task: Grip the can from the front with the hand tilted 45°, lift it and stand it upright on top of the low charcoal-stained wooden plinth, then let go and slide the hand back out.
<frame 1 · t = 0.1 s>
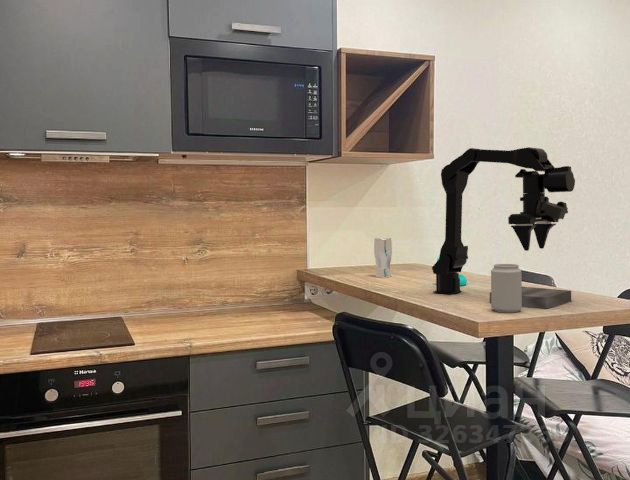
hand: (534, 249, 165), 15 cm above the worktop, tool pointing down, fingers open, 9 cm apart
plinth: (530, 302, 165), on the worktop
can: (506, 311, 153), on the worktop
white piece: (383, 277, 232), on the worktop
turquoise double disc piece: (452, 285, 205), on the worktop
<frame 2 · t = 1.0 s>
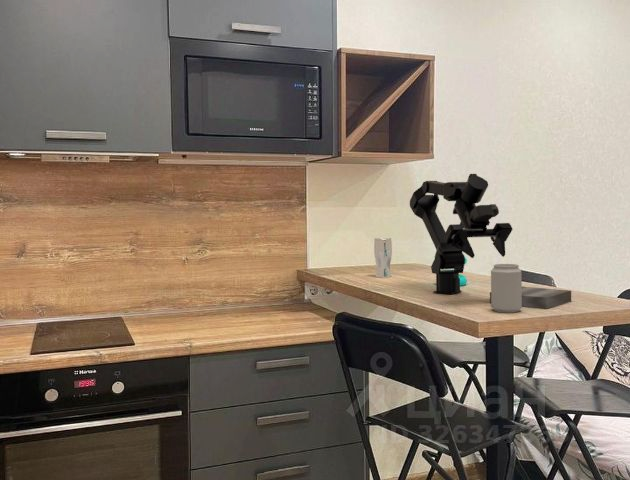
hand: (488, 256, 161), 13 cm above the worktop, tool tilted 45°, fingers open, 9 cm apart
nothing on the worktop moved.
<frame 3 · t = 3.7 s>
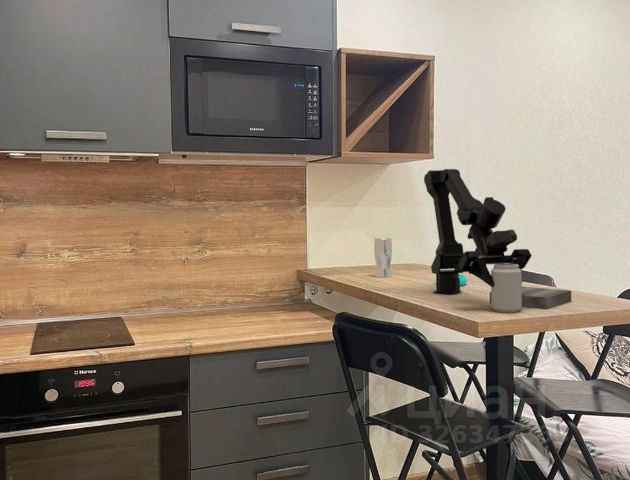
hand: (507, 285, 152), 7 cm above the worktop, tool tilted 45°, fingers closed on can, 7 cm apart
can: (506, 311, 153), on the worktop, touching gripper
everything else where it was.
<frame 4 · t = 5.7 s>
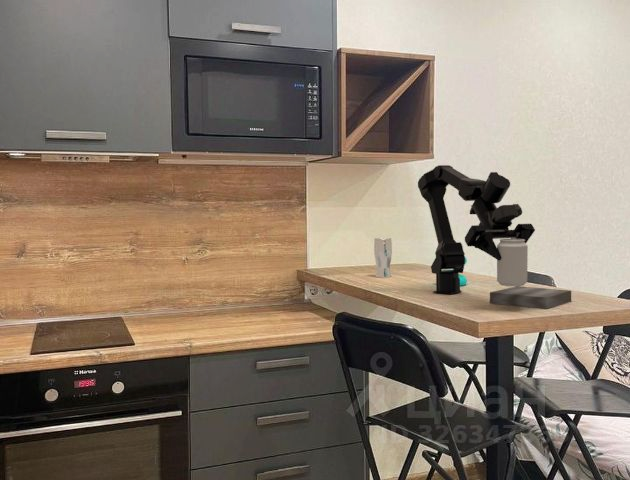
hand: (513, 258, 154), 13 cm above the worktop, tool tilted 45°, fingers closed on can, 7 cm apart
can: (512, 285, 155), point 6 cm above the worktop, touching gripper
everything else where it was.
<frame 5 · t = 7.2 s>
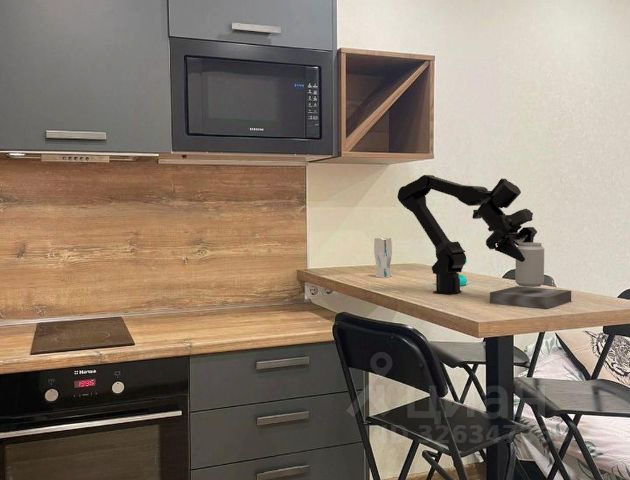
hand: (531, 259, 164), 12 cm above the worktop, tool tilted 45°, fingers closed on can, 7 cm apart
can: (529, 286, 165), point 4 cm above the worktop, touching gripper
everything else where it was.
when the fingers open (10 cm above the worktop, at t = 8.1 s): can stays where it is, resting on plinth.
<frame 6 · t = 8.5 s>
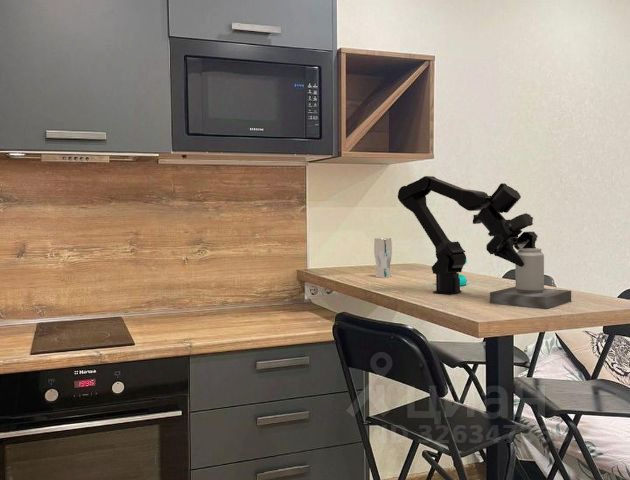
hand: (531, 264, 164), 11 cm above the worktop, tool tilted 45°, fingers open, 9 cm apart
can: (529, 292, 165), point 3 cm above the worktop, touching plinth
everything else where it was.
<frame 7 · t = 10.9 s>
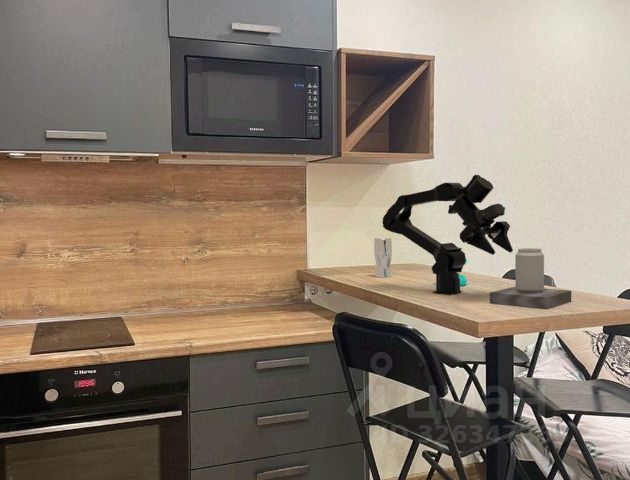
hand: (503, 252, 171), 13 cm above the worktop, tool tilted 45°, fingers open, 9 cm apart
nothing on the worktop moved.
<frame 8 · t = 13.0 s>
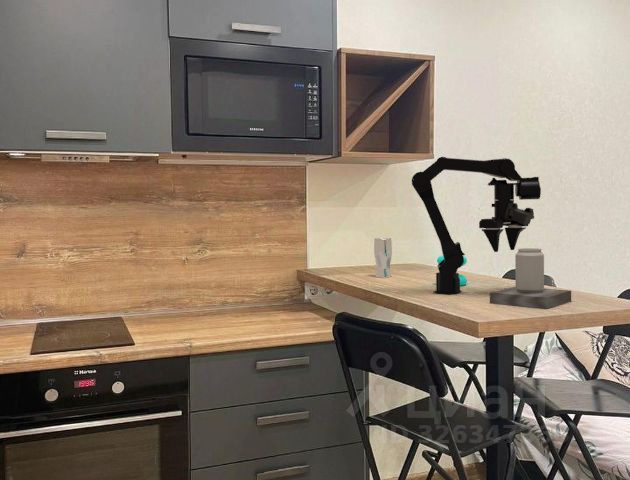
hand: (504, 250, 183), 13 cm above the worktop, tool pointing down, fingers open, 9 cm apart
nothing on the worktop moved.
at the end: can inside the target area on the plinth (0.3 cm from its centre), point 2.8 cm above the plinth's base; can tilted 0°; the gripper is holding nothing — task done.
